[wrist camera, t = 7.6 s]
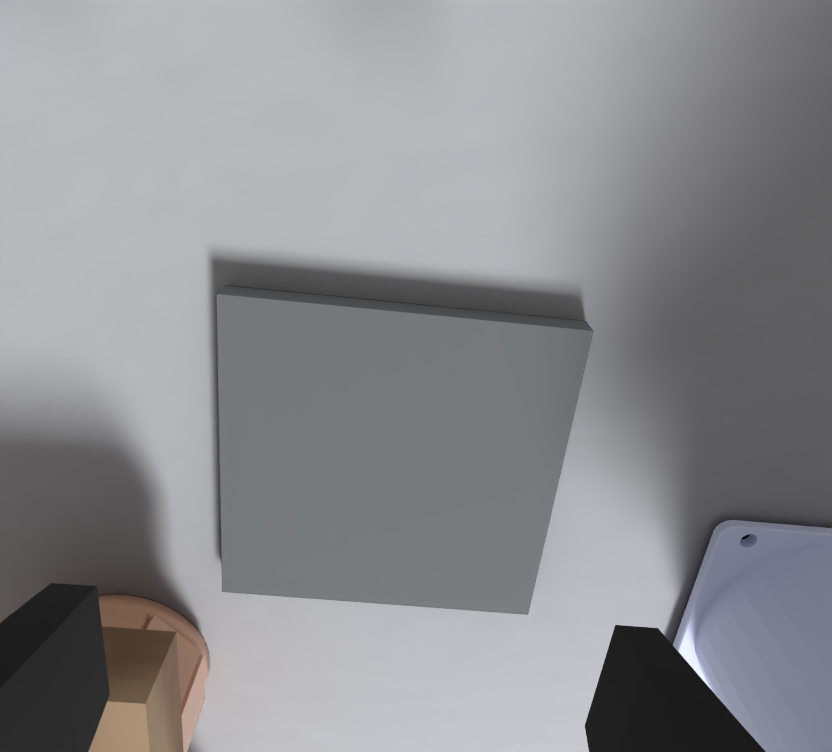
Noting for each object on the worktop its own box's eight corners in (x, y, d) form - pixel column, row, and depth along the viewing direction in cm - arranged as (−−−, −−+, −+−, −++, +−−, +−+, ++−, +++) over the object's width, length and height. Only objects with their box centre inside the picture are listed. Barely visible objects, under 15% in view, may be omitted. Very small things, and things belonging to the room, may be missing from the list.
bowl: (208, 600, 22) (179, 673, 19) (211, 715, 24) (186, 795, 22) (39, 588, 22) (-14, 660, 19) (59, 705, 24) (14, 785, 21)
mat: (585, 321, 18) (593, 330, 17) (523, 597, 22) (528, 614, 21) (224, 285, 18) (216, 294, 17) (228, 574, 22) (222, 591, 21)
